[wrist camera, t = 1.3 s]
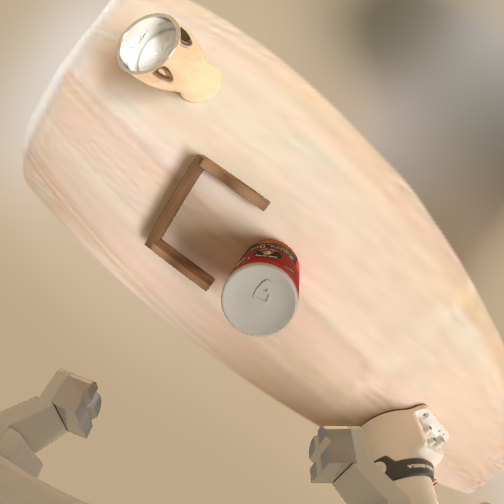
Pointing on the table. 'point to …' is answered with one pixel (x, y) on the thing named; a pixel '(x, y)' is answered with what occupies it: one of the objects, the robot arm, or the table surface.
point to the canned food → (262, 289)
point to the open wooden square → (173, 206)
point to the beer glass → (167, 58)
